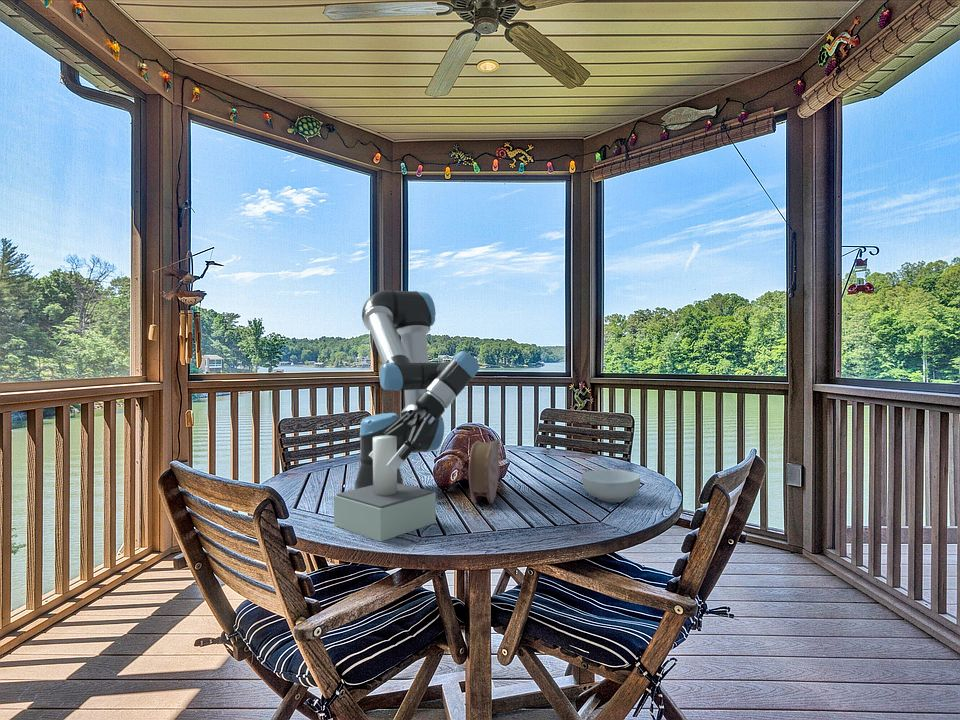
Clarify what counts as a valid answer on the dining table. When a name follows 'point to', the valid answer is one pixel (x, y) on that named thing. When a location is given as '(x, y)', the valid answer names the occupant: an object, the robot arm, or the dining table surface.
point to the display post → (384, 465)
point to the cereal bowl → (611, 484)
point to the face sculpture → (484, 470)
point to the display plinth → (384, 511)
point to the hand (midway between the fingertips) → (381, 463)
